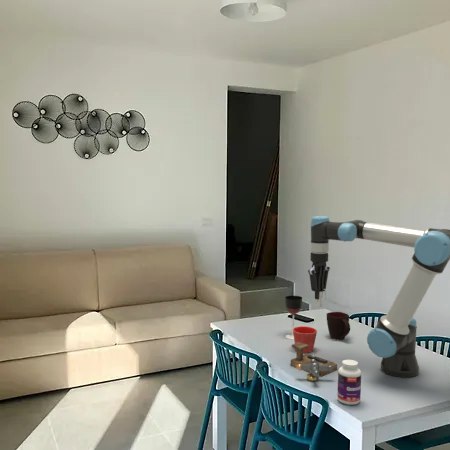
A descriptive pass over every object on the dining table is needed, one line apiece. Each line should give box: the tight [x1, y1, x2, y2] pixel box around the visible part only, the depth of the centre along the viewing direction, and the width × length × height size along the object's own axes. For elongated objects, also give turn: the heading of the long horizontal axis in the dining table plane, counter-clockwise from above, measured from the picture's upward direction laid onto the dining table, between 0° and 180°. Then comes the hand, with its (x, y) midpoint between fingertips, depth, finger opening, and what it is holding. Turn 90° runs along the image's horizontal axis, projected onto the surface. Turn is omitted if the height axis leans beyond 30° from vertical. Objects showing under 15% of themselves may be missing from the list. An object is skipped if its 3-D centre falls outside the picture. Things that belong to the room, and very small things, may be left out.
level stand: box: [290, 342, 338, 377], centre depth 214 cm, size 16×11×9 cm
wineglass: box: [284, 295, 303, 340], centre depth 253 cm, size 8×9×20 cm
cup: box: [326, 311, 351, 341], centre depth 250 cm, size 10×14×12 cm
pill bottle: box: [336, 359, 362, 406], centre depth 182 cm, size 8×8×14 cm
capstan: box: [295, 359, 333, 382], centre depth 201 cm, size 14×14×6 cm
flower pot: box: [293, 325, 318, 354], centre depth 235 cm, size 11×11×10 cm
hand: (318, 306), depth 220 cm, fingers closed
